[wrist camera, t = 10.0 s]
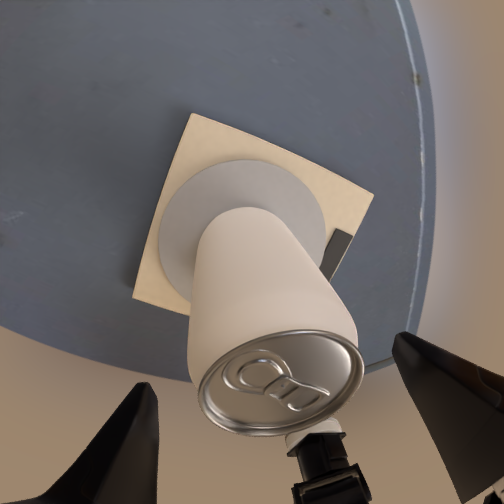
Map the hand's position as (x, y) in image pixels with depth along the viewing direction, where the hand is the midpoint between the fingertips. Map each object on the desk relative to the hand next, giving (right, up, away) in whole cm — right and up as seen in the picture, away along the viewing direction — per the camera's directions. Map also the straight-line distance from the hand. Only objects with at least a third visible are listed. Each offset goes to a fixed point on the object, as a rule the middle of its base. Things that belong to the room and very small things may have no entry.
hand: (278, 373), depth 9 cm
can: (-1, +4, +10) cm, 11 cm away
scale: (-1, +5, +12) cm, 13 cm away
